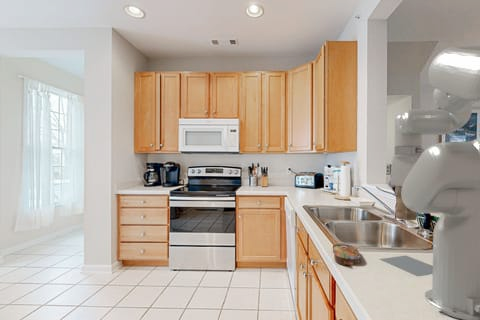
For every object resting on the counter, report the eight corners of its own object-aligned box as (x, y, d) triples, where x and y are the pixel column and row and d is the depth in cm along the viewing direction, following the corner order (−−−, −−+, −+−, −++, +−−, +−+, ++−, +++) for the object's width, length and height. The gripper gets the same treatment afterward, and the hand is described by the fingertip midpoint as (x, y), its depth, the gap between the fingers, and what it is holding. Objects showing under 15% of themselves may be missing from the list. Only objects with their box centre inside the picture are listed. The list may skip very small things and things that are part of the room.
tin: (363, 260, 88) (335, 255, 90) (362, 269, 88) (334, 265, 90) (355, 245, 102) (331, 241, 104) (355, 253, 102) (331, 250, 104)
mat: (446, 273, 84) (446, 271, 84) (417, 278, 80) (417, 276, 80) (405, 257, 97) (406, 255, 97) (379, 261, 93) (379, 259, 93)
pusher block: (416, 220, 88) (418, 176, 88) (406, 220, 86) (409, 175, 87) (404, 217, 92) (407, 175, 92) (395, 217, 90) (398, 174, 90)
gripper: (442, 152, 82) (441, 213, 82) (394, 152, 98) (393, 204, 98) (423, 151, 80) (422, 214, 80) (378, 152, 96) (377, 205, 96)
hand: (406, 208), depth 89 cm, fingers closed on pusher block, 4 cm apart
